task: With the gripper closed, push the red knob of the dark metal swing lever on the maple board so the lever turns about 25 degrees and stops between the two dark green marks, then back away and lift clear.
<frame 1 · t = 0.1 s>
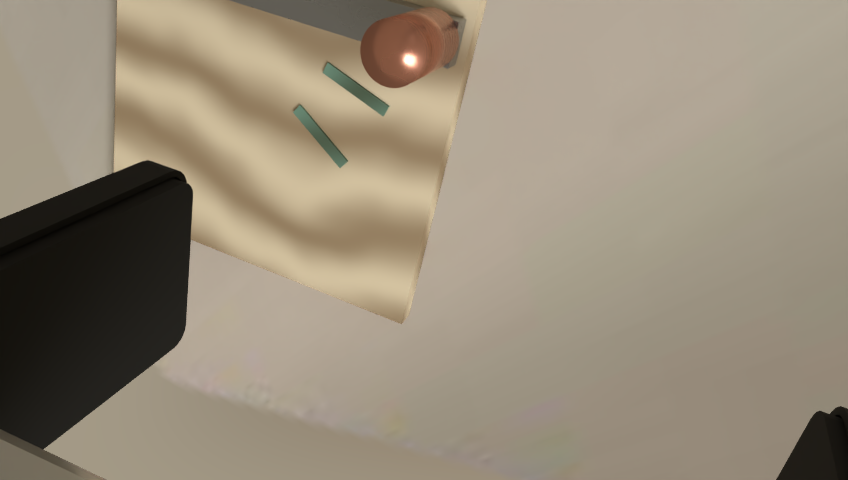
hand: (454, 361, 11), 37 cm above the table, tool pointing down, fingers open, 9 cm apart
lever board: (280, 100, 52), on the table
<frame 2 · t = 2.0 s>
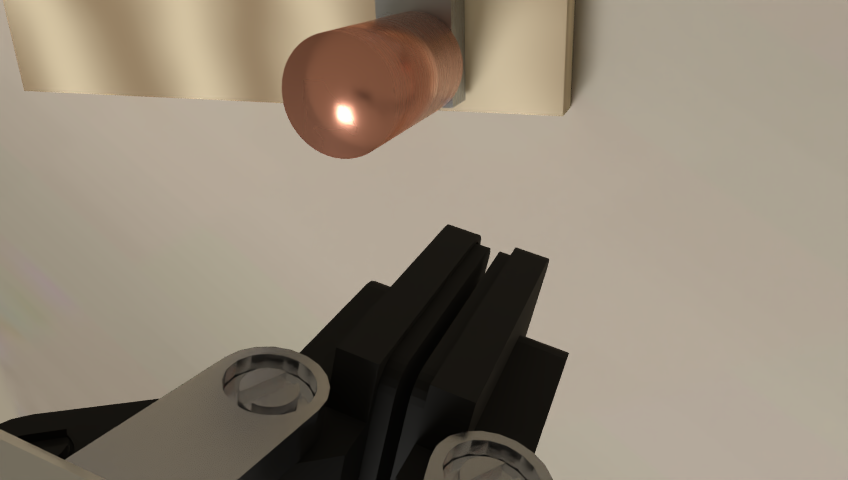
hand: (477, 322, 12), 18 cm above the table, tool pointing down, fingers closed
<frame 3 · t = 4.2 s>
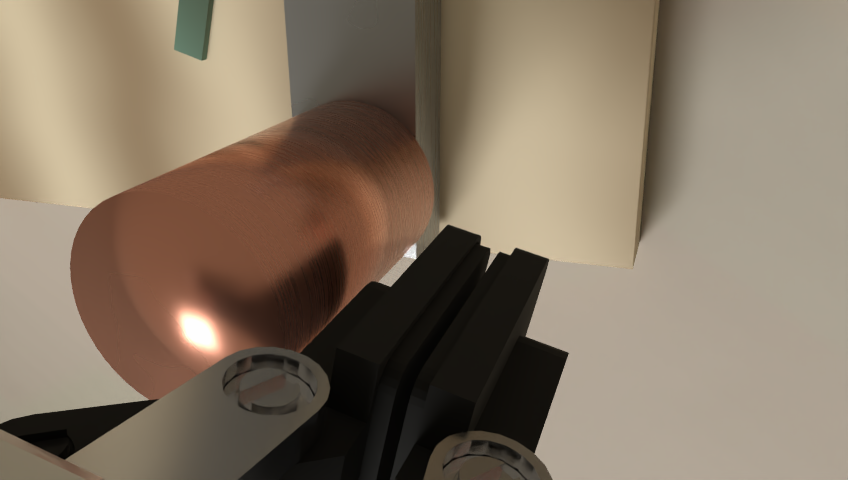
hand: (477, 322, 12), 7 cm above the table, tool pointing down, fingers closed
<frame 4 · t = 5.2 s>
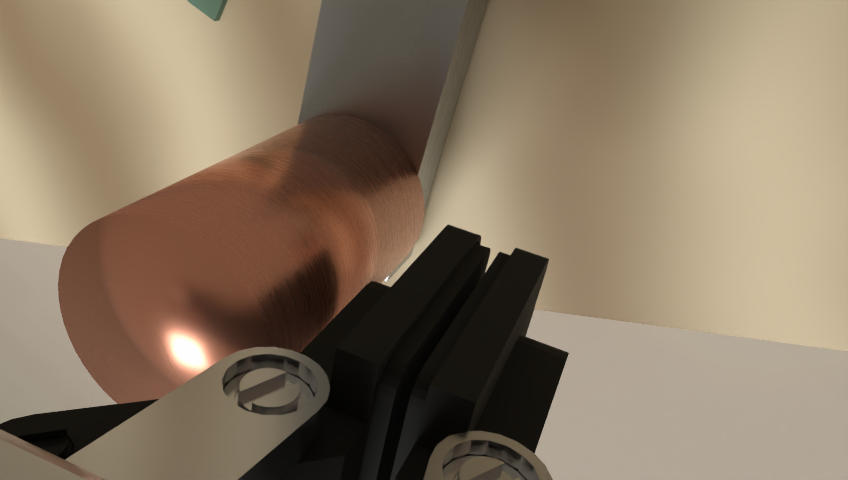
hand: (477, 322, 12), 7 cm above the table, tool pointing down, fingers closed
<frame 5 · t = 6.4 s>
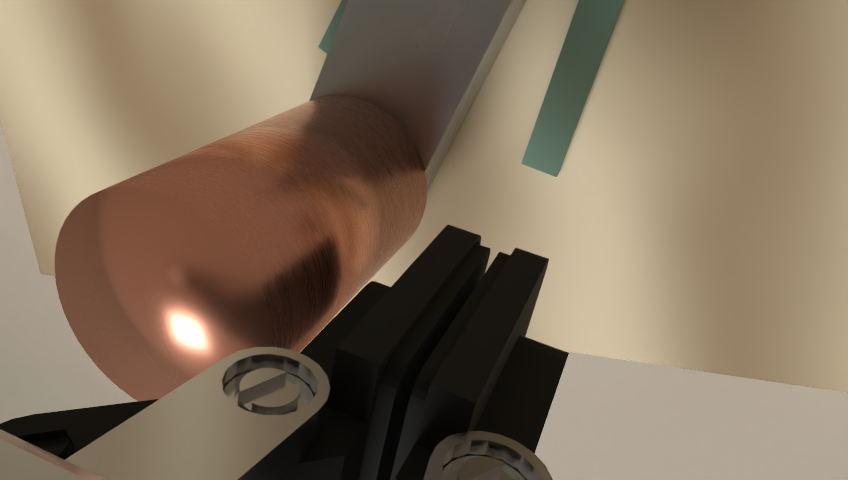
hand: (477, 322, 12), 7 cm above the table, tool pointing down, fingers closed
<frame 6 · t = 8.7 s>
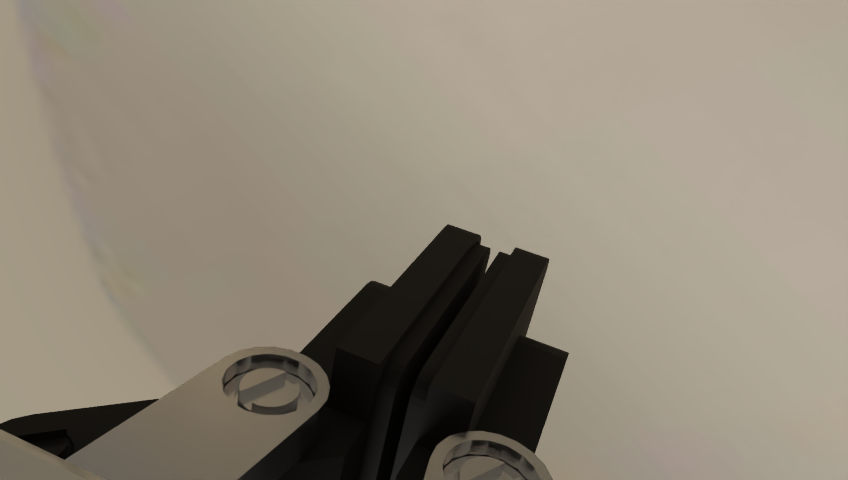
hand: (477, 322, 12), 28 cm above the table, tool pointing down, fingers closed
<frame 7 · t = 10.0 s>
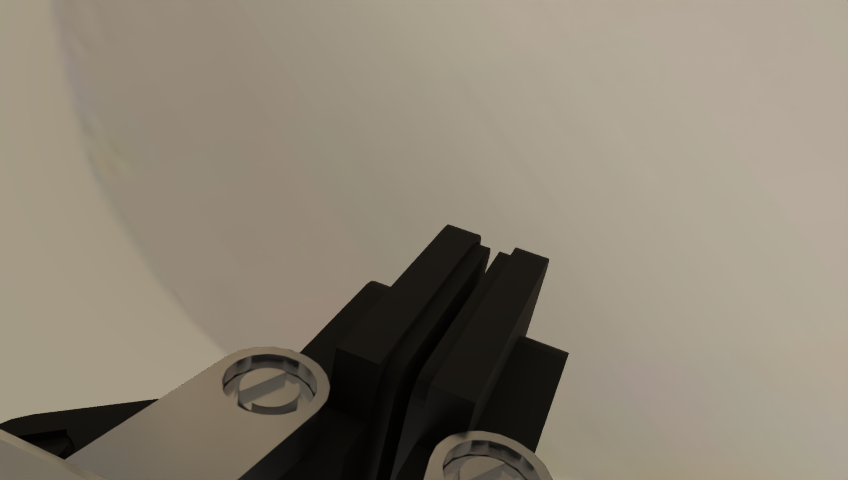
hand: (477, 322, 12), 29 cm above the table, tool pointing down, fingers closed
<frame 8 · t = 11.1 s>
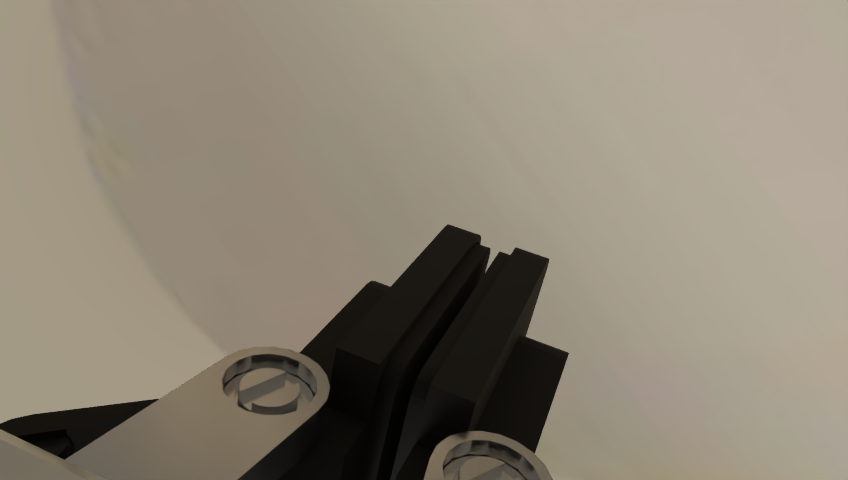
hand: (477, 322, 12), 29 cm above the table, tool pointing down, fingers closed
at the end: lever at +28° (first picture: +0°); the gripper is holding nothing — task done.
